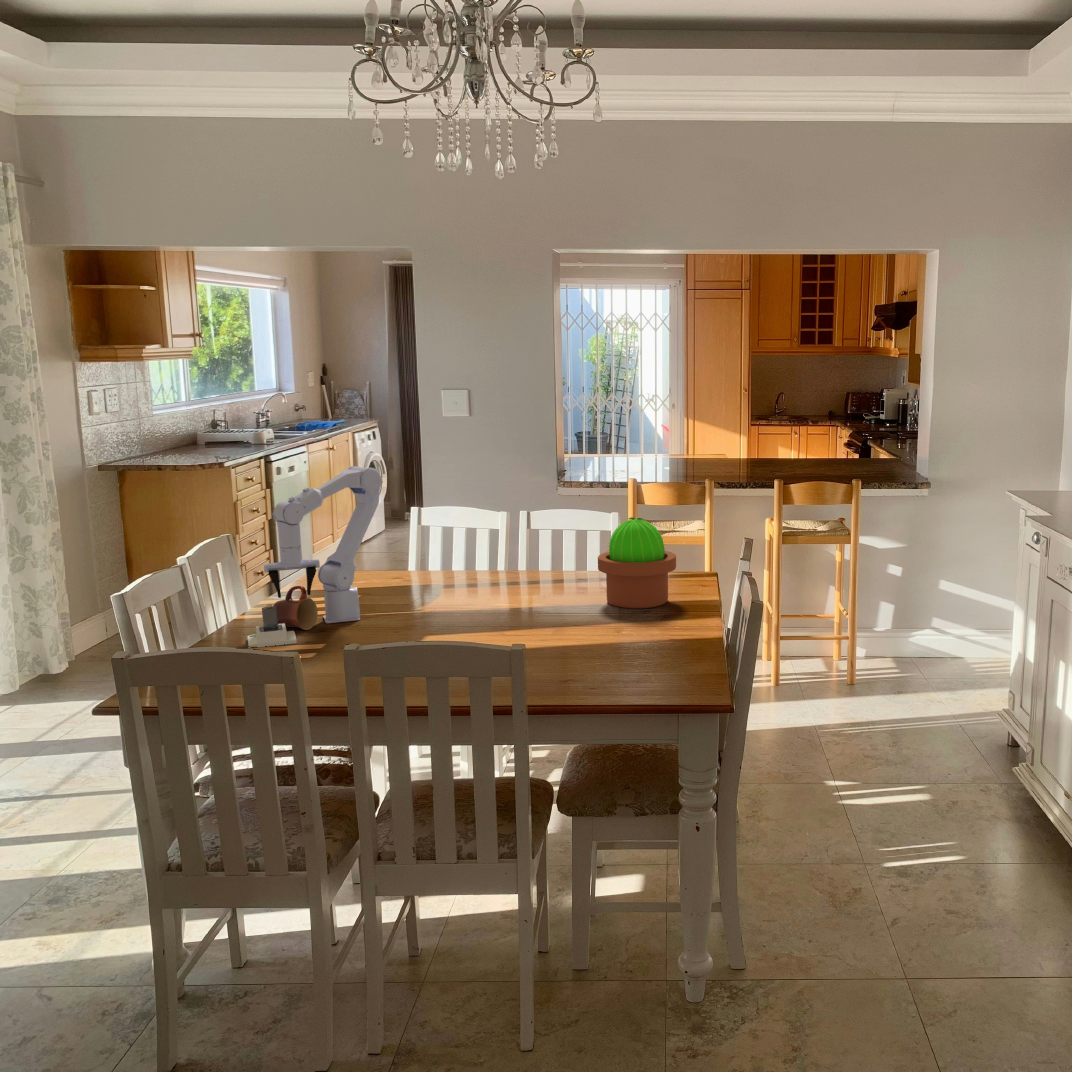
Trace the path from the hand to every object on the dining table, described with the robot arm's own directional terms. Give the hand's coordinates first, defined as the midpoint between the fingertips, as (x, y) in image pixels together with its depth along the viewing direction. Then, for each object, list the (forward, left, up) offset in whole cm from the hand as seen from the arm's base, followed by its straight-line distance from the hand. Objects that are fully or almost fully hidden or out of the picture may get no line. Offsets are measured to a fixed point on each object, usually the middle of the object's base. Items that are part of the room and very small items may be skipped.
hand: (294, 595), depth 271 cm
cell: (+7, +10, -8) cm, 15 cm away
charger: (+7, +9, -9) cm, 15 cm away
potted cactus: (-96, +10, -10) cm, 97 cm away
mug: (+4, -6, -4) cm, 9 cm away
